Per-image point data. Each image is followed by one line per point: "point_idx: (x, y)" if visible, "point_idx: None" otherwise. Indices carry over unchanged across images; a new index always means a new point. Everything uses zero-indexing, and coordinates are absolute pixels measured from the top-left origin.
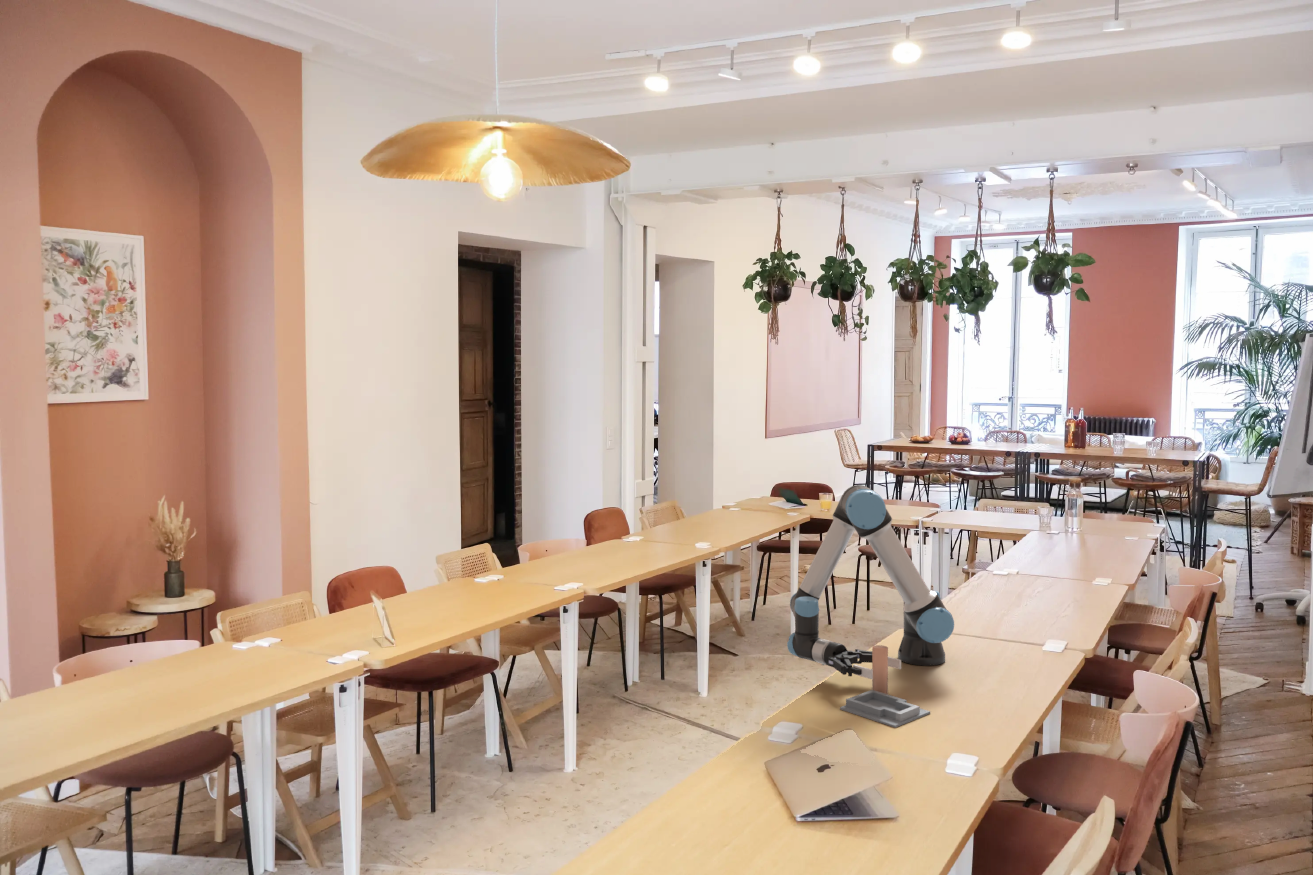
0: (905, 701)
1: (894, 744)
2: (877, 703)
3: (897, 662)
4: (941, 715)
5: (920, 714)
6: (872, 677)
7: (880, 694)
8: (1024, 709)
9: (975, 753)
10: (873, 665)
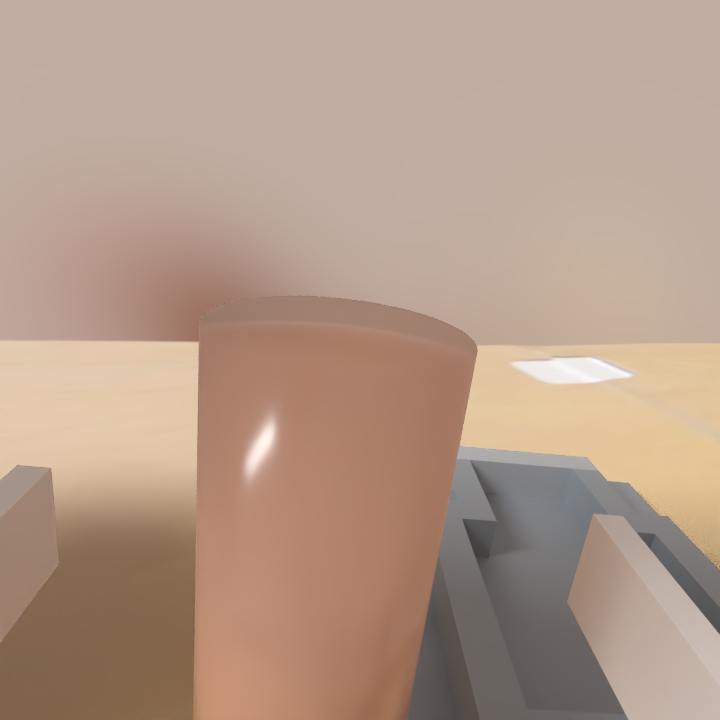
0: None
1: (700, 455)
2: (546, 669)
3: (34, 519)
4: None
5: None
6: (571, 592)
7: (502, 636)
8: (96, 355)
9: (502, 366)
10: (424, 620)
